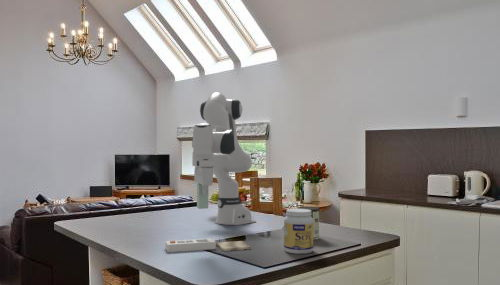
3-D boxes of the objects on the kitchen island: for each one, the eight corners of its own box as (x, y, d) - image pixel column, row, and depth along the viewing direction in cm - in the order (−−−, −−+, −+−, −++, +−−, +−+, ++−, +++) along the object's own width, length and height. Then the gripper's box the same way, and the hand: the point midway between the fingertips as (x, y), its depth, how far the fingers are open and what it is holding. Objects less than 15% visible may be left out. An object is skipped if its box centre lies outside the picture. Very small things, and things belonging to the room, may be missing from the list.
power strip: (211, 245, 199) (211, 237, 199) (215, 248, 192) (215, 240, 192) (165, 248, 193) (165, 239, 193) (167, 252, 186) (167, 243, 186)
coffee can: (299, 234, 223) (300, 205, 223) (320, 236, 220) (321, 207, 220) (294, 239, 213) (295, 208, 213) (316, 240, 210) (317, 209, 210)
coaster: (242, 243, 204) (242, 240, 204) (250, 249, 193) (250, 246, 193) (216, 244, 200) (216, 242, 200) (223, 251, 189) (223, 248, 189)
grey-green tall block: (206, 207, 197) (206, 179, 197) (208, 208, 193) (208, 180, 193) (196, 207, 196) (197, 180, 196) (198, 208, 192) (199, 180, 192)
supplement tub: (292, 255, 182) (292, 213, 182) (278, 249, 193) (278, 208, 193) (319, 253, 187) (319, 211, 187) (303, 246, 198) (304, 207, 198)
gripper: (190, 160, 203) (190, 192, 203) (200, 163, 184) (200, 197, 184) (204, 160, 205) (204, 191, 205) (215, 162, 186) (215, 197, 186)
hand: (202, 194), depth 194 cm, fingers closed on grey-green tall block, 4 cm apart
